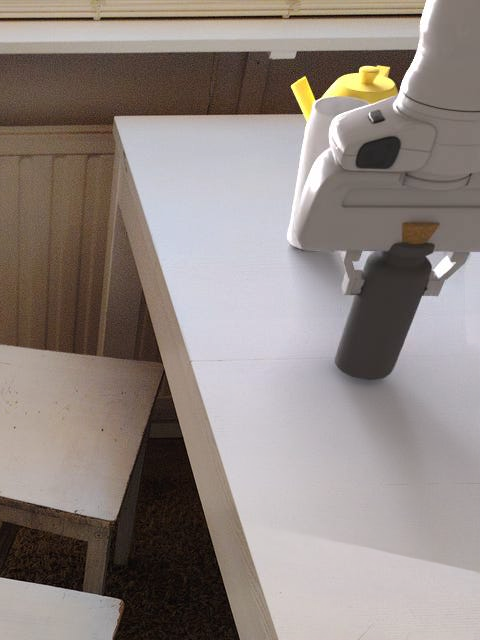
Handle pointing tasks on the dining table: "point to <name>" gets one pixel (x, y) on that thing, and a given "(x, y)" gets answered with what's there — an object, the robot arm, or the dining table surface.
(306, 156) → the white vase
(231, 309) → the dining table surface
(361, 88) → the teapot
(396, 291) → the bottle
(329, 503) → the dining table surface
